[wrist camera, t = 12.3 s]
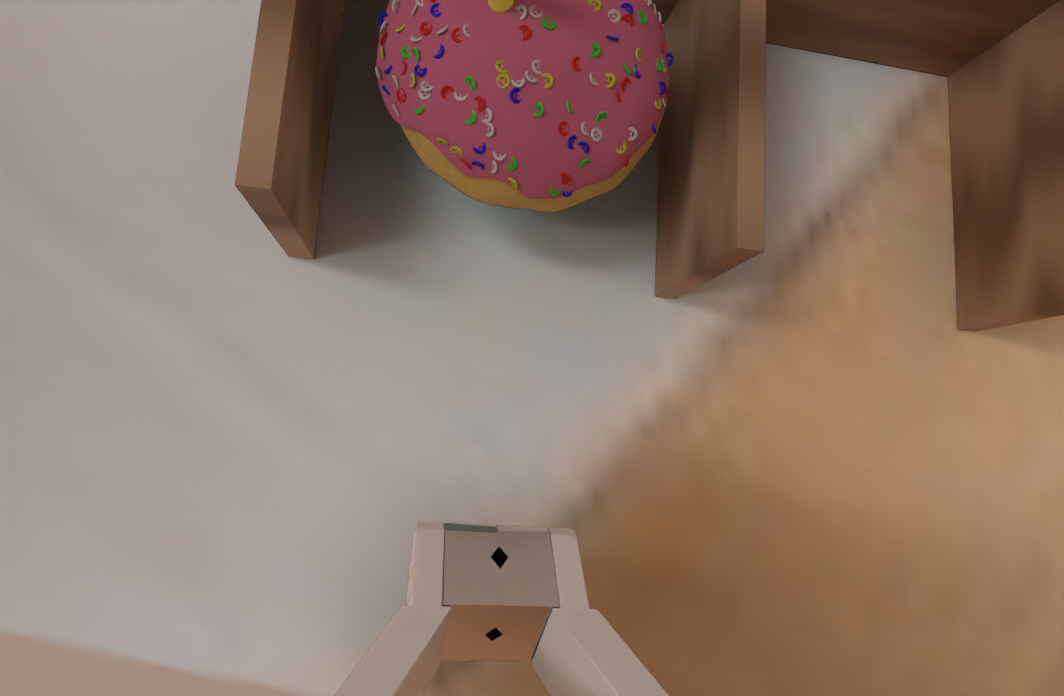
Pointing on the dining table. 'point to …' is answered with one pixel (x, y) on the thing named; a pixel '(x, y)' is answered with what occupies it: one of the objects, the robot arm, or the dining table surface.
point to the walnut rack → (753, 131)
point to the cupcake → (526, 93)
